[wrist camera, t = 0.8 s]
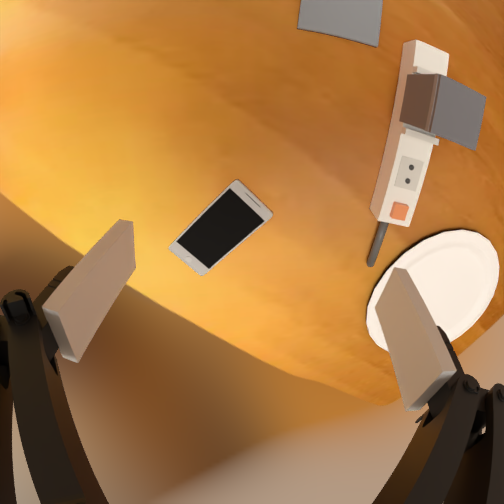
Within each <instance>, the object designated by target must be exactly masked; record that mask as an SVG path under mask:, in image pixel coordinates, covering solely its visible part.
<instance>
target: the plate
mask: <svg viewBox="0 0 504 504" xmlns="http://www.w3.org/2000/svg"><path fill="white" fill-rule="evenodd" d="M394 267H397V268H402V269H406V270H407V272H408V273H409V275H410V277H411V279H412V280H413V282H414V284H415V286H416V288H417V289H418V291H419V293H420V295H421V297H422V299H423V300H424V302H425V304H426V306H427V308H428V310H429V312H430V314H431V316H432V318H433V320H434V322H435V324H436V326H440V327H441V328H442V330H443V331H444V332H445V333H446V334H447V337H448V339H449V341H450V342H451V341H453V340H454V339H456V338H458V337H459V336H461V335H462V334H463V333H464V332H465V331H467V330H468V329H469V328H470V327H471V326H472V325H473V324H474V323H475V322H476V321H477V320H478V318H479V317H480V316H481V315H482V314H483V312H484V311H485V309H486V308H487V306H488V304H489V303H490V301H491V299H492V297H493V295H494V292H495V289H496V286H497V283H498V276H499V262H498V257H497V252H496V251H495V249H494V247H493V246H492V244H491V242H490V241H489V240H488V239H486V238H485V237H483V236H482V235H481V234H479V233H477V232H473V231H468V230H463V229H460V230H452V231H444V232H441V233H439V234H436V235H434V236H432V237H429V238H427V239H424V240H422V241H421V242H419V243H418V244H416V245H415V246H414V247H412V248H411V249H409V250H408V251H406V252H405V253H403V254H402V255H401V256H400V257H399V258H398V259H397V260H396V261H395V262H394V263H393V264H392V265H391V266H390V267H389V268H388V269H387V270H386V272H385V273H384V275H383V276H382V278H381V279H380V281H379V282H378V284H377V285H376V287H375V288H374V291H373V293H372V296H371V298H370V301H369V303H368V307H367V318H366V323H367V327H368V330H369V334H370V336H371V338H372V339H373V340H374V341H375V343H376V344H377V345H378V346H380V347H381V348H383V349H385V350H387V351H388V352H389V350H388V347H387V344H386V341H385V338H384V334H383V331H382V328H381V325H380V322H379V319H378V316H377V314H376V311H375V306H376V304H377V302H378V300H379V298H380V296H381V294H382V292H383V290H384V288H385V285H386V283H387V281H388V279H389V277H390V275H391V273H392V270H393V268H394Z"/></svg>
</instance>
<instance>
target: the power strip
mask: <svg viewBox="0 0 504 504" xmlns="http://www.w3.org/2000/svg"><path fill="white" fill-rule="evenodd" d="M448 60H449V54H448V53H446V52H444V51H441V50H439V49H437V48H435V47H433V46H431V45H428V44H426V43H424V42H421V41H419V40H412V41H409V42H405V43H403V51H402V58H401V66H400V73H399V79H398V85H397V91H396V97H395V102H394V108H393V113H392V118H391V123H390V128H389V133H388V137H387V142H386V146H385V150H384V155H383V159H382V163H381V167H380V171H379V175H378V179H377V183H376V187H375V190H374V194H373V198H372V201H371V205H370V208H369V209H370V210H371V211H372V213H373V214H374V216H375V217H376V219H377V220H378V221H381V222H380V225H379V228H378V231H377V234H376V237H375V240H374V243H373V246H372V249H371V252H370V255H369V257H368V260H367V266H368V267H373V266H374V264H375V261H376V258H377V255H378V253H379V250H380V247H381V244H382V242H383V239H384V236H385V233H386V230H387V227H388V224H389V223H392V224H397V225H402V226H407V227H409V225H410V222H411V219H412V216H413V213H414V210H415V207H416V204H417V201H418V198H419V194H420V191H421V188H422V185H423V181H424V178H425V174H426V171H427V167H428V163H429V160H430V156H431V152H432V148H433V144H435V145H438V144H439V139H437V138H435V134H432V133H429V132H426V131H425V130H423V129H420V128H417V127H414V126H412V125H409V124H406V123H403V122H400V121H399V119H400V114H401V108H402V103H403V98H404V92H405V86H406V80H407V74H435V73H439V74H442V75H444V76H447V68H448Z"/></svg>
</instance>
